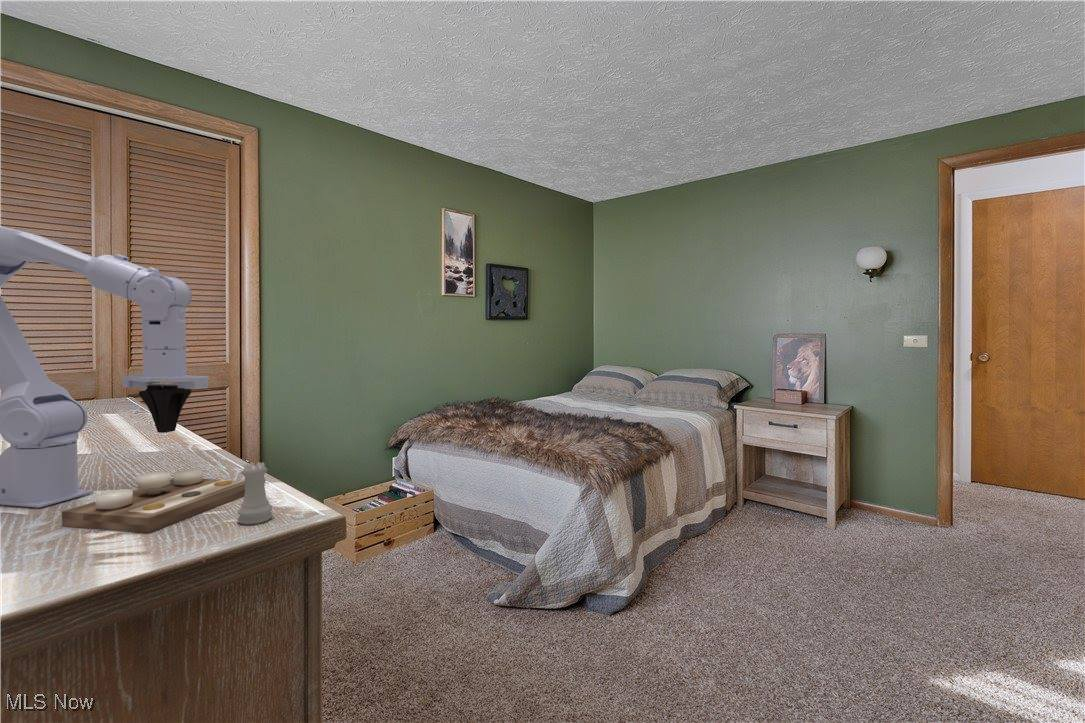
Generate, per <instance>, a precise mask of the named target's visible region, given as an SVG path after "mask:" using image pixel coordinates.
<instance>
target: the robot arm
mask: <svg viewBox="0 0 1085 723" xmlns="http://www.w3.org/2000/svg"><path fill="white" fill-rule="evenodd" d="M129 260H130V258H129V257H127V256H125V255H122V254H118V253H115V254H114V255H112V254H111V255H110V254H103V255H99V256H96V257H94V256H91V255H88V254H86V253H83V252H82V251H79V250H77V249H74V248H71V247H69V246H66V245H64V244H62V243H59V242H57V241H54V240H51V239H49V238H46V237H44V236H42V235H37V234H34V233H30V232H26V231H22V230H18V229H14V228H9V227H7V226H6V227H5V226H1V225H0V288H2V286H4V285H5V284H6V283H7V282H8V281H9V280H11V279H12V278H13V277H14V276H15V275H16V274H17V273H18V272H20V271H21V270H22V269H23V268H24V267H25V266H27V265H28V264H29V263H33V264H37V263H40V262H43V263H47V264H50V265H52V266H55V267H59V268H61V269H65V270H68V271H71V272H74V273H77V274H80V275H82V276H85V277H86V279H87V281H88V283H89V285H90V286H91V287H93V288H94V289H97V290H101V291H102V292H106V293H109V294H112V295H115V296H117V297H120V298H123V299H125V300H129V301H131V302H134V303H136V304H137V305H138V307H139V308H140V311H141V312H140V314H141V327H142V328H141V331H142V332H141V333H142V334H141V337H142V338H141V339H142V374H129V375H122V388H145V390H138V396H139V397H140V398H141V400H142V401H143V402H144V404H145V405H146V407H147V408H148V411H149V412H150V415H151V417H152V420H153V422H154V425H155V428H156V432H157V433H158V434H159V433H161V434H165V433H170V432H175V431H176V429H177V424H178V421H179V417H180V414H181V412H182V410H183V407H184V406H185V403H186V401H187V400H188V398H189V397H190V395H191V394H192V389H194V390H201V389H208V388H209V382H210V380H209V376H203V375H191V374H187V337H186V336H187V335H186V334H187V333H186V332H187V331H186V330H187V329H186V326H187V325H186V308H187V307H188V306H189V305H190V303H191V301H192V298H193V295H192V294H193V293H192V291H191V288H190V286H189V285H188V284H187V283H186V282H184V281H183V280H181V279H179V278H178V277H176V276H167V275H162V274H160V270H159V269H157V268H154V267H148V268H146V267H144V266H141V265H138V264H135V263H133V262H131V261H129ZM160 383H161V384H160ZM165 383H168V384H165ZM169 383H170V384H169ZM0 391H1V393H2V394H1V396H0V436H1V437H2V439H3V440H5V442H7V443H8V444H9V447H7V448H6V449H4V450H3V451H2V452H1V453H0V504H1V505H2V506H11V507H27V508H43V507H47V506H50V505H55V504H58V503H61V502H64V501H69V500H72V499H75V498H80V497H83V496H87V495H90V494H94V490H93V489H85V488H84V489H83V488H82V489H81V488H79V468H78V466H79V465H78V464H79V461H78V440H79V434H80V433H81V432H82V431H83V429H84V428H85V426H86V425H87V423H88V412H87V410H86V408H85V406H84V405H83V404H82V403H80V402H78V401H77V400H75V399H74V398H73V397H72V396H71V395H70V393H69V391H68V390H67V389H66V388H64V387H63V386H61V385H59V384H57V383H56V382H54V381H52V380H50V379H49V377H48V375H47V373H46V372H45V370H44V368H43V366H42V365H41V363H40V362H39V360H38V358H37V357H36V354H35V353H34V351H33V349H32V348H31V346H30V343H29V342H28V341H27V339H26V337H25V336H24V334H23V332H22V330H21V328H20V327H19V325H18V324H17V322H16V320H15V318H14V317H13V315H12V313H11V311H10V309H9V308H8V306H7V305H6V302H5V300H4V299H3V298H2V296H1V295H0ZM1 505H0V506H1Z"/></svg>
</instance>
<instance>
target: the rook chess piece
mask: <svg viewBox="0 0 1085 723" xmlns="http://www.w3.org/2000/svg"><path fill="white" fill-rule="evenodd" d="M265 465H266V464H265V462H260V461H259V462H258V461H257V462H256V465H255V462H250V463H245V464H244V466H243V467H244V468H243V469H242V471H241V472H240V473H241V475H243V476H244V480H243V481H244V484H245V494H244V496H243V501H242V503H241V505H240V508H239V509H238V510H237V515H239V517H237V519H236V521H238V523H239V524H241V525H244V526H253V525H259V524H263V523H266V522H268V521H270V520H271V518H272V517H273V515H274V513H272V512H271V511H272V510H273V505H272V504H270V503H269V501H270V500H268V498H267V493H266V489H265V488H266V487H265V486H266V484H265V482H267V479H265V475H266V473H267V472H268V468H267V467H266V466H265ZM269 519H270V520H269Z"/></svg>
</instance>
